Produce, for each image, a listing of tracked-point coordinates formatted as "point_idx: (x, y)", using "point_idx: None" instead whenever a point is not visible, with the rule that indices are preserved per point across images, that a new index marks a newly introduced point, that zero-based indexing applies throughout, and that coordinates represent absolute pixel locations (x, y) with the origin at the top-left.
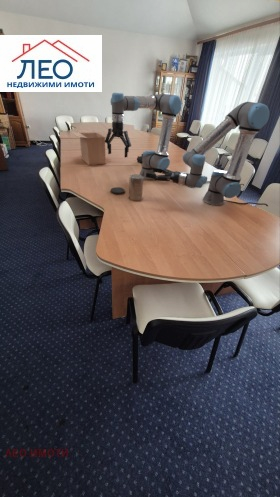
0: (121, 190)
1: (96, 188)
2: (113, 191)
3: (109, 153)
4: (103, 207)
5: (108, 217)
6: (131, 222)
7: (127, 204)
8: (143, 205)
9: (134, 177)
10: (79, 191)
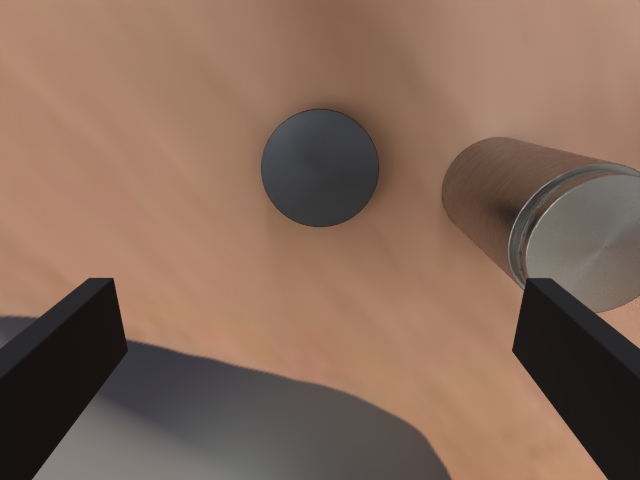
0: (353, 165)
1: (144, 205)
2: (311, 220)
3: (119, 348)
4: (372, 401)
5: (450, 461)
6: (571, 446)
7: (479, 305)
8: None
9: (588, 290)
10: None
